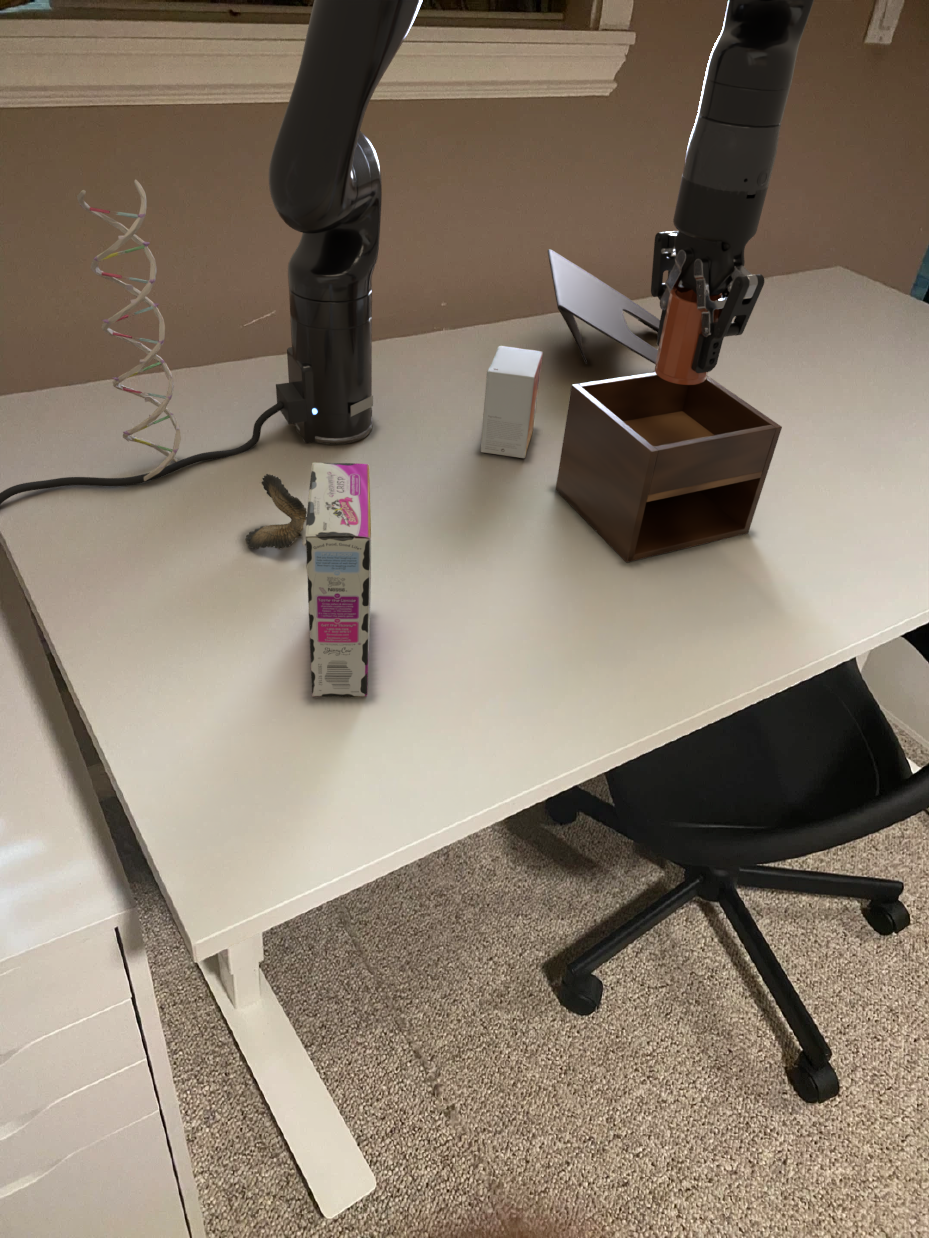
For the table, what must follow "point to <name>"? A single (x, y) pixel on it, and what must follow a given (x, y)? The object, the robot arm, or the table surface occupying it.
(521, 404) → the small box
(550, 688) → the table surface
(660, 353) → the cup
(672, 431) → the box
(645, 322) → the laptop tray
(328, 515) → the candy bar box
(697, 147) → the robot arm
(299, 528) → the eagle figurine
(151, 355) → the dna model
